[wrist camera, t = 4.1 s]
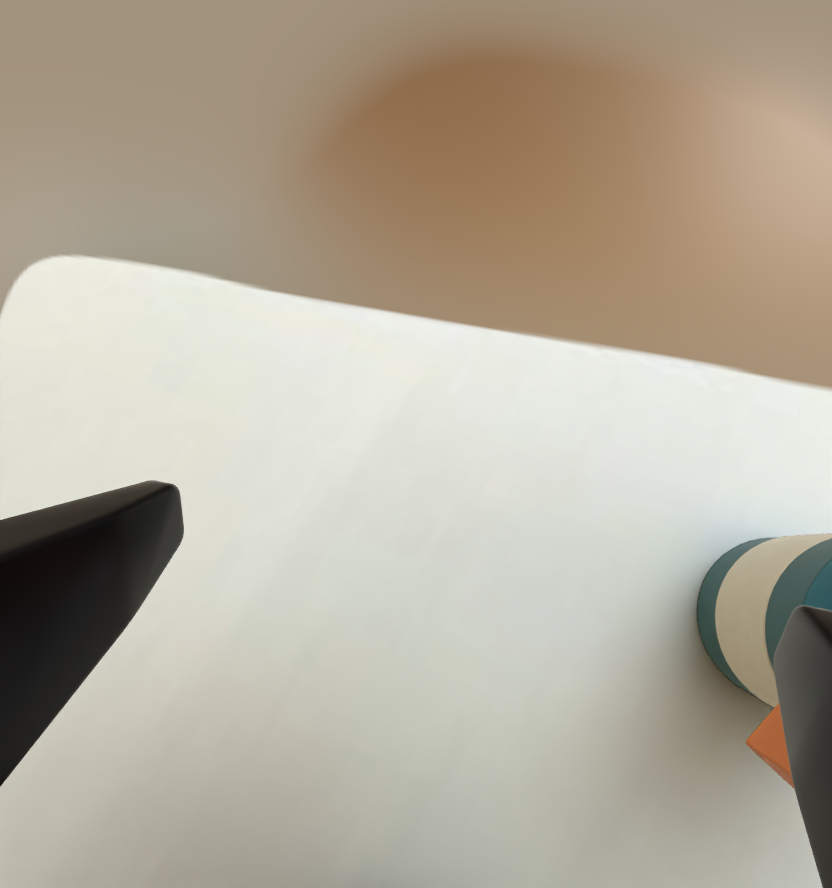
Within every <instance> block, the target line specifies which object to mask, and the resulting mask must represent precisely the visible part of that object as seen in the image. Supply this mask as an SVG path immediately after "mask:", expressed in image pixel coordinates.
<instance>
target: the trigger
mask: <svg viewBox="0 0 832 888" xmlns="http://www.w3.org/2000/svg"><path fill="white" fill-rule="evenodd" d="M746 744H747V745H748V746H749V747H750V748H751V749H752V750H753V751H754V752H755V753H756V754H757V755H758V756H759V757H761V758H762V759H763V760H764V761H765V762H766V763H767V764H768V765H769V766H770V767H771V768H772V769H774V770H775V771H776V772H777V773H778V774H779V775H780V776H781V777H782V778H783V779H784V780H785V781H787V782H788V783H789V784H790V785H791V786H792V787H793V788H794V784H793V780H792V775H791V770H790V765H789V760H788V754H787V748H786V742H785V736H784V729H783V723H782V717H781V711H780V705H779V703H778V704H777V706H776V707H775V708H774V709H773V710H772V711H771V712H770V714H769V715H768V716H767V717H766V718H765V719H764V721H763V722H762V723H761V724H760V725H759V726H758V728H757V729H756V730H755V731H754V732H753V733H752V734H751V736H750V737H749V738H748V739H747V740H746ZM794 789H795V788H794Z"/></svg>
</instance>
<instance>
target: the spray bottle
mask: <svg viewBox="0 0 832 888" xmlns="http://www.w3.org/2000/svg"><path fill="white" fill-rule="evenodd" d="M800 605H806V606H811V607H816V608H822V609H827V610H831V611H832V534H814V535H795V536H784V537H779V538H764V539H757V540H752V541H748V542H746V543H743V544H740V545H738V546H736V547H735V548H733V549H731V550H729V551H728V552H727V553H725V554H724V555H723V556H722V557H721V558H720V559H719V560H717V561H716V562H715V564H714V565H713V566H712V568H711V569H710V570H709V572H708V574H707V575H706V577H705V579H704V581H703V584H702V586H701V589H700V593H699V598H698V606H697V619H698V626H699V631H700V635H701V638H702V641H703V643H704V646H705V648H706V650H707V652H708V654H709V656H710V657H711V659H712V661H713V662H714V663H715V665H716V666H717V667H718V669H719V670H720V671H721V672H722V673H723V674H724V675H725V676H726V677H727V678H728V679H729V680H730V681H732V682H733V683H734V684H735V685H737V686H738V687H740V688H741V689H743V690H745V691H746V692H748V693H750V694H752V695H754V696H756V697H758V698H759V699H761V700H762V701H764V702H765V703H767V704H769V705H770V706H772V707H774V708H775V707H776V706H777V704H778V703H779V699H778V693H777V687H776V681H775V675H774V668H773V662H774V655H775V651H776V649H777V646H778V644H779V641H780V639H781V637H782V634H783V632H784V629H785V627H786V625H787V622H788V620H789V617H790V615H791V613H792V611H793V610H794V609H795V608H796V607H798V606H800Z"/></svg>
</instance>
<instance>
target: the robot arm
mask: <svg viewBox="0 0 832 888" xmlns="http://www.w3.org/2000/svg"><path fill="white" fill-rule="evenodd" d="M183 533H184V525H183V516H182V507H181V498H180V492H179V490H178V488H177V487H176V486H175V485H173V484H170V483H164V482H159V481H146V482H142V483H139V484H135V485H131V486H127V487H124V488H120V489H116V490H112V491H108V492H105V493H101V494H97V495H93V496H90V497H86V498H82V499H78V500H75V501H71V502H67V503H63V504H60V505H56V506H52V507H48V508H44V509H41V510H37V511H33V512H29V513H26V514H22V515H18V516H14V517H11V518H7V519H3V520H0V786H1V785H2V784H3V783H4V781H5V780H6V779H7V778H8V776H9V775H10V774H11V772H12V771H13V770H14V769H15V767H16V766H17V765H18V764H19V762H20V761H21V760H22V759H23V757H24V756H25V755H26V753H27V752H28V751H29V750H30V748H31V747H32V746H33V745H34V743H35V742H36V741H37V740H38V738H39V737H40V736H41V735H42V733H43V732H44V731H45V729H46V728H47V727H48V726H49V724H50V723H51V722H52V721H53V719H54V718H55V717H56V716H57V714H58V713H59V712H60V710H61V709H62V708H63V707H64V705H65V704H66V703H67V702H68V700H69V699H70V698H71V697H72V695H73V694H74V693H75V691H76V690H77V689H78V688H79V686H80V685H81V684H82V683H83V681H84V680H85V679H86V678H87V676H88V675H89V674H90V673H91V671H92V670H93V669H94V667H95V666H96V665H97V664H98V662H99V661H100V660H101V659H102V657H103V656H104V655H105V654H106V652H107V651H108V650H109V648H110V647H111V646H112V645H113V643H114V642H115V641H116V640H117V638H118V637H119V636H120V635H121V633H122V632H123V631H124V629H125V628H126V627H127V625H128V624H129V623H130V621H131V620H132V618H133V617H134V615H135V614H136V612H137V611H138V610H139V608H140V607H141V605H142V603H143V602H144V600H145V599H146V597H147V596H148V594H149V592H150V591H151V589H152V588H153V586H154V585H155V583H156V581H157V580H158V578H159V577H160V575H161V574H162V572H163V570H164V569H165V567H166V566H167V564H168V563H169V561H170V559H171V558H172V556H173V555H174V553H175V552H176V550H177V548H178V547H179V545H180V543H181V541H182V538H183ZM773 668H774V675H775V681H776V687H777V693H778V699H779V705H780V711H781V717H782V723H783V729H784V736H785V742H786V748H787V754H788V760H789V765H790V770H791V775H792V780H793V784H794V788H795V792H796V795H797V799H798V803H799V806H800V810H801V813H802V817H803V820H804V824H805V827H806V831H807V834H808V838H809V841H810V845H811V848H812V851H813V855H814V858H815V862H816V865H817V869H818V872H819V876H820V879H821V883H822V886H823V888H832V611H831V610H827V609H822V608H816V607H811V606H806V605H800V606H798V607H796V608H795V609H794V610H793V611H792V613H791V615H790V617H789V620H788V622H787V625H786V627H785V629H784V632H783V634H782V637H781V639H780V641H779V644H778V646H777V649H776V651H775V655H774V662H773Z"/></svg>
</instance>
